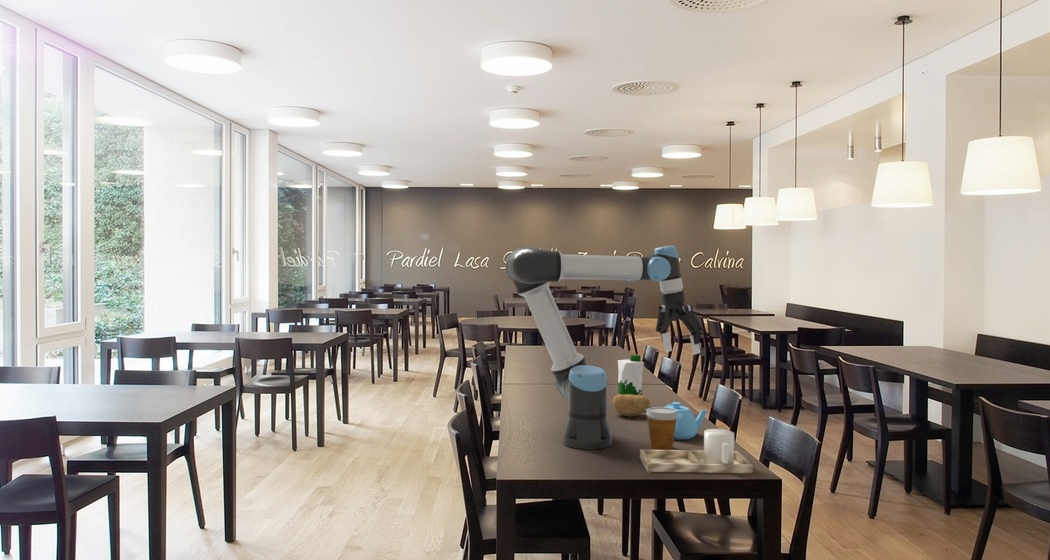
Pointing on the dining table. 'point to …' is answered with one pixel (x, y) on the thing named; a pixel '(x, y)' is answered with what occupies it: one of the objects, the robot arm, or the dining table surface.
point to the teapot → (686, 421)
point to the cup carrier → (690, 462)
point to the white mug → (718, 446)
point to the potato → (630, 404)
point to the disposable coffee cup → (661, 427)
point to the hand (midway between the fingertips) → (682, 352)
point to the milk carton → (630, 376)
